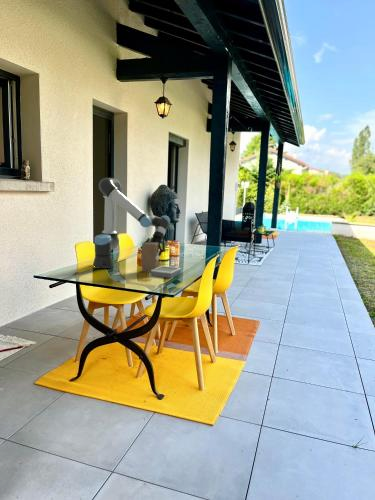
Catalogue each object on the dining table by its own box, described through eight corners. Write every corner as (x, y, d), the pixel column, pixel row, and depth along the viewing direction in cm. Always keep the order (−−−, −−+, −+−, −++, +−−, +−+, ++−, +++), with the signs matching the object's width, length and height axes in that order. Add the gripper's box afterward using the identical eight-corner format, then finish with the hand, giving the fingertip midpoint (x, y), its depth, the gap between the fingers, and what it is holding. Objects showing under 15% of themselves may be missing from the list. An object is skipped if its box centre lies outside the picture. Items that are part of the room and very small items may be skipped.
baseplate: (151, 275, 253) (151, 270, 253) (161, 271, 267) (161, 265, 266) (171, 278, 247) (171, 272, 247) (180, 273, 261) (180, 268, 260)
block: (155, 272, 262) (155, 244, 258) (141, 272, 263) (141, 243, 260) (159, 269, 271) (159, 242, 268) (145, 268, 273) (145, 241, 270)
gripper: (175, 238, 273) (165, 263, 262) (146, 236, 282) (136, 259, 271) (172, 231, 267) (162, 256, 256) (143, 229, 277) (132, 253, 266)
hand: (148, 258), depth 264 cm, fingers closed on block, 12 cm apart
